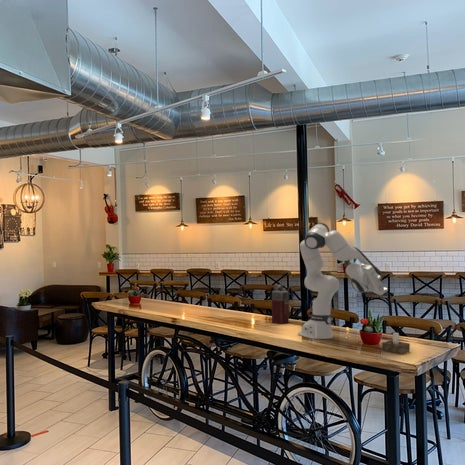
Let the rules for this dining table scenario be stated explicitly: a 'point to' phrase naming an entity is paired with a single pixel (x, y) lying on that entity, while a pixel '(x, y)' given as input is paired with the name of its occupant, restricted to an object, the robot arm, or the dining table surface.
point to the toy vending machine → (280, 306)
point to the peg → (395, 338)
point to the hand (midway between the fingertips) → (383, 284)
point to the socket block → (396, 347)
